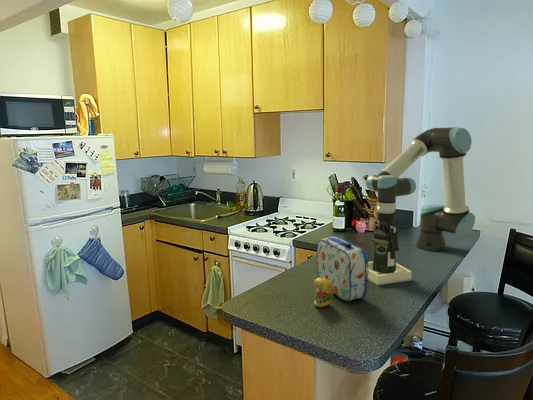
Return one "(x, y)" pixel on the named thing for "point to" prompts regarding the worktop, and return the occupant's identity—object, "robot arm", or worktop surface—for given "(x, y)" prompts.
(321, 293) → the hamburger
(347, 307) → the worktop surface
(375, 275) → the caddy
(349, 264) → the lunch box
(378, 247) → the coffee jar
